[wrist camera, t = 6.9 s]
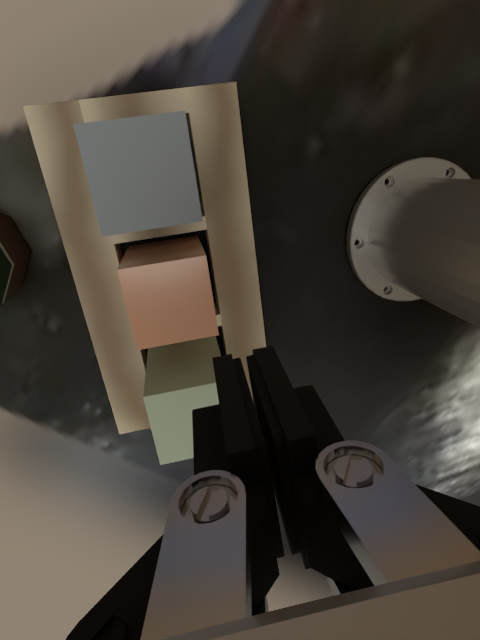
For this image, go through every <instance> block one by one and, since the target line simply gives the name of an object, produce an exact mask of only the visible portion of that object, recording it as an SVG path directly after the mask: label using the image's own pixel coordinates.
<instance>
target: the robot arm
mask: <svg viewBox="0 0 480 640" xmlns="http://www.w3.org/2000/svg"><path fill="white" fill-rule="evenodd" d="M385 179H386V181H387V182H386V184H385ZM356 240H357V243H356V244H355V245H354V243H355V241H356ZM346 248H347V254H348V260H349V262H350V265H351V267H352V270H353V272H354V273H355V275H356V276H357V278H358V280H359V281H360V282H361V283H362V284H363V285H364V286H365V287H366V288H367V289H369V290H371V291H372V292H374V293H375V294H377V295H379V296H381V297H383V298H385V299H390V300H394V301H413V300H418V299H424V300H426V301H428V302H429V303H431V304H433V305H435V306H437V307H439V308H441V309H443V310H445V311H447V312H449V313H450V314H452V315H454V316H456V317H458V318H460V319H462V320H464V321H466V322H468V323H470V324H472V325H473V326H475V327H477V328H479V329H480V179H471V178H470V177H469V175H468V174H467V173H466V172H465V171H464V170H463V169H461V168H460V167H459V166H458V165H456V164H454V163H452V162H450V161H447V160H444V159H439V158H434V157H421V158H414V159H408V160H405V161H402V162H400V163H397V164H395V165H393V166H391V167H389V168H388V169H386V170H384V171H383V172H382V173H380V174H379V175H378V176H377V177H376V178H375V179H374V180H372V181H371V182H370V184H369V185H368V186H367V187H366V189H365V190H364V191H363V192H362V194H361V195H360V197H359V199H358V201H357V202H356V204H355V206H354V208H353V211H352V214H351V216H350V219H349V223H348V229H347V237H346ZM384 288H385V289H384ZM212 360H213V366H214V373H215V380H216V387H217V393H218V400H219V404H217V405H212V406H207V407H203V408H198V409H193V410H192V425H193V453H194V476H192V477H190V478H189V479H187V480H186V481H185V482H184V483H182V484H181V485H180V486H179V488H178V489H177V490H176V491H175V493H174V496H173V498H172V500H171V503H170V508H169V512H168V517H167V521H166V526H165V530H164V534H163V535H162V536H161V537H160V538H159V539H158V540H157V541H156V543H155V544H154V545H153V546H152V547H151V548H150V549H149V550H148V551H147V552H146V553H145V554H144V555H143V556H142V557H141V558H140V559H139V560H138V561H137V562H136V563H135V564H134V566H133V567H132V568H130V570H129V571H128V572H127V573H126V574H125V575H124V576H123V577H122V578H121V579H120V580H119V581H118V582H117V583H116V584H115V585H114V586H113V587H112V588H111V589H110V590H109V591H108V592H107V594H106V595H104V597H103V598H102V599H101V600H100V601H99V602H98V603H97V604H96V605H95V606H94V607H93V608H92V609H91V610H90V611H89V612H88V613H87V614H86V615H85V616H84V617H83V618H82V620H80V621H79V622H78V624H77V625H76V626H75V628H74V629H73V630H72V631H71V633H70V634H69V635H68V636H67V638H66V640H480V507H479V506H476V505H473V504H470V503H468V502H465V501H462V500H459V499H456V498H453V497H450V496H447V495H445V494H442V493H439V492H436V491H433V490H430V489H427V488H424V487H422V486H419V485H416V484H414V483H413V482H412V480H411V479H410V478H409V477H408V476H407V475H406V474H405V473H404V472H403V471H402V470H401V469H400V468H399V467H398V466H397V465H396V464H395V463H394V462H393V461H392V460H391V459H390V458H389V457H388V456H387V455H386V454H385V453H384V452H383V451H381V450H380V449H379V448H378V447H375V446H373V445H371V444H368V443H365V442H360V441H345V440H344V439H343V437H342V435H341V434H340V432H339V430H338V428H337V427H336V425H335V423H334V422H333V420H332V418H331V416H330V415H329V413H328V411H327V410H326V408H325V406H324V405H323V403H322V401H321V399H320V398H319V396H318V394H317V393H316V391H315V389H314V388H313V386H312V385H308V386H303V387H298V388H294V389H293V387H292V385H291V383H290V381H289V379H288V377H287V375H286V373H285V371H284V369H283V367H282V365H281V362H280V360H279V358H278V356H277V354H276V352H275V350H274V348H273V346H268V347H263V348H258V349H253V355H249V356H246V360H247V366H248V372H249V378H250V384H251V390H252V395H253V399H252V396H251V392H250V389H249V385H248V382H247V379H246V375H245V372H244V369H243V365H242V362H241V358H235V359H233V358H232V354H228V355H223V356H218V357H213V358H212ZM253 401H254V402H253ZM274 493H275V495H274ZM275 497H276V500H277V504H278V507H279V511H280V514H281V518H282V522H283V525H284V529H285V532H286V536H287V540H288V543H289V546H290V550H291V553H292V554H297V553H301V556H302V559H303V563H304V566H305V569H308V568H312V569H314V570H316V571H318V572H320V573H322V574H323V575H325V576H327V579H328V583H329V586H330V589H331V592H332V594H333V596H331V597H327V598H323V599H319V600H315V601H311V602H307V603H303V604H299V605H295V606H291V607H287V608H282V609H278V610H274V611H270V612H268V603H267V598H266V595H267V593H268V592H269V590H270V588H271V587H272V585H273V584H274V582H275V581H276V579H277V578H278V576H279V569H278V564H277V558H280V557H284V550H283V544H282V539H281V532H280V526H279V519H278V513H277V507H276V501H275Z"/></svg>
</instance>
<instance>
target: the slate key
mask: <svg viewBox="0 0 480 640" xmlns="http://www.w3.org/2000/svg"><path fill="white" fill-rule="evenodd" d="M73 126H74V130H75V134H76V138H77V142H78V146H79V149H80V153H81V157H82V161H83V165H84V169H85V173H86V177H87V181H88V185H89V189H90V192H91V196H92V200H93V204H94V208H95V212H96V216H97V220H98V224H99V228H100V231H101V235H102V237H104V236H110V235H117V234H123V233H130V232H136V231H143V230H149V229H156V228H162V227H169V226H175V225H182V224H188V223H195V222H201V221H203V220H202V213H201V207H200V201H199V195H198V188H197V182H196V176H195V169H194V163H193V157H192V151H191V144H190V138H189V132H188V125H187V119H186V113H185V111H178V112H169V113H161V114H153V115H145V116H137V117H129V118H120V119H112V120H104V121H96V122H88V123H80V124H73Z"/></svg>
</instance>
